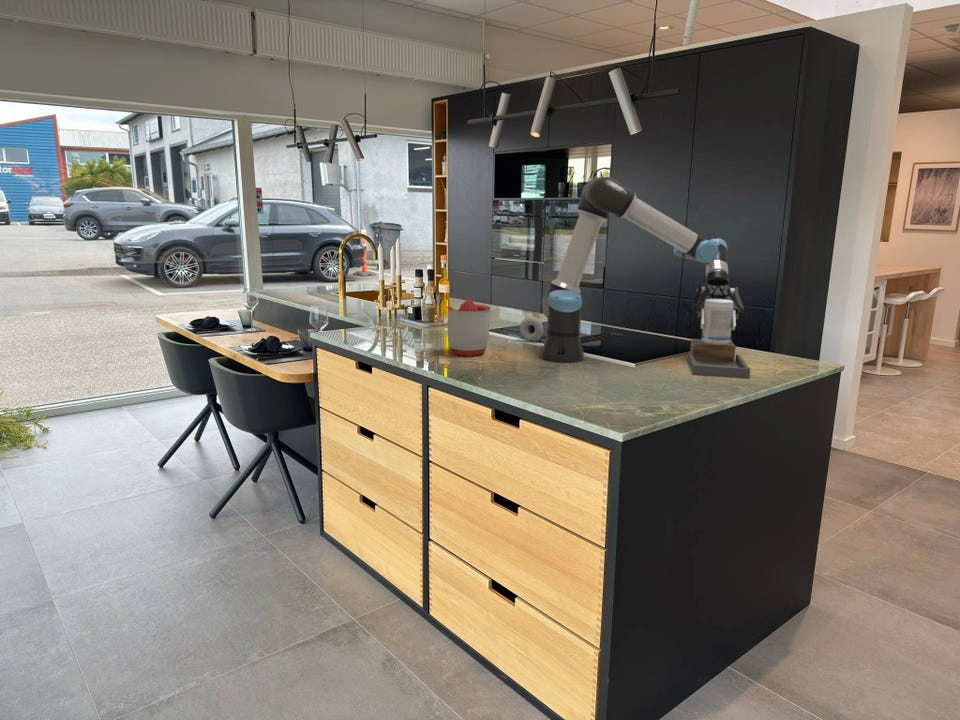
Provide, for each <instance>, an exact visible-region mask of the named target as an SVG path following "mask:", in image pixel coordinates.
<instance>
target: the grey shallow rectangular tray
mask: <svg viewBox="0 0 960 720" xmlns="http://www.w3.org/2000/svg"><path fill="white" fill-rule="evenodd" d="M686 360H687V363H688V366H689V368H690V371H691V374H692V375H695V376H710V377H711V376H712V377H722V378H723V377H724V378H725V377H726V378H737V377H738V378H739V379H742V378H743V379H750V378H751V377H750V375H751V368H750V367H749V365H748V364H747V362H746V361H745V360H744V359H743V357H742V356H741V354H739V353H738V354H736V353H735V357H734V362H727V361H711V360H695V359H694V357H693V354H692V352H690V351H688V352H687V357H686Z"/></svg>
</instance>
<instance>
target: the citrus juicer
mask: <svg viewBox="0 0 960 720" xmlns="http://www.w3.org/2000/svg"><path fill="white" fill-rule="evenodd" d="M446 309H447V316H446V317H447V321H446V323H447V326H446V327H447V328H446V331H447V340H448V344H449V348H450V351H451V353H452V354H454V355H458V356H464V357H473V356H481V355H484V353H485V351H486V349H487V345H488V341H489V336H490V312H491V311H490V309H491V307H490V306H489V305H484V304H475V302H473V300H472V299H470V298H467V299H466V300H464V302H463V303H461V304H460V307H459V309H454V307H452V306H451V305H447V306H446Z"/></svg>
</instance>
